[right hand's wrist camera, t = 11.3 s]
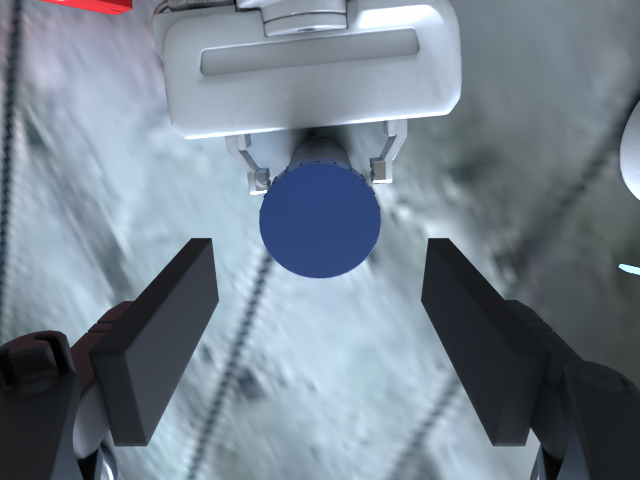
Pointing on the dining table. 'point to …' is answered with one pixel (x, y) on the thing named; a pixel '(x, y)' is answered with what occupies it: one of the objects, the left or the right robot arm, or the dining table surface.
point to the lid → (320, 218)
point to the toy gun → (98, 5)
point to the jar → (319, 151)
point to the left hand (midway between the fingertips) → (321, 187)
